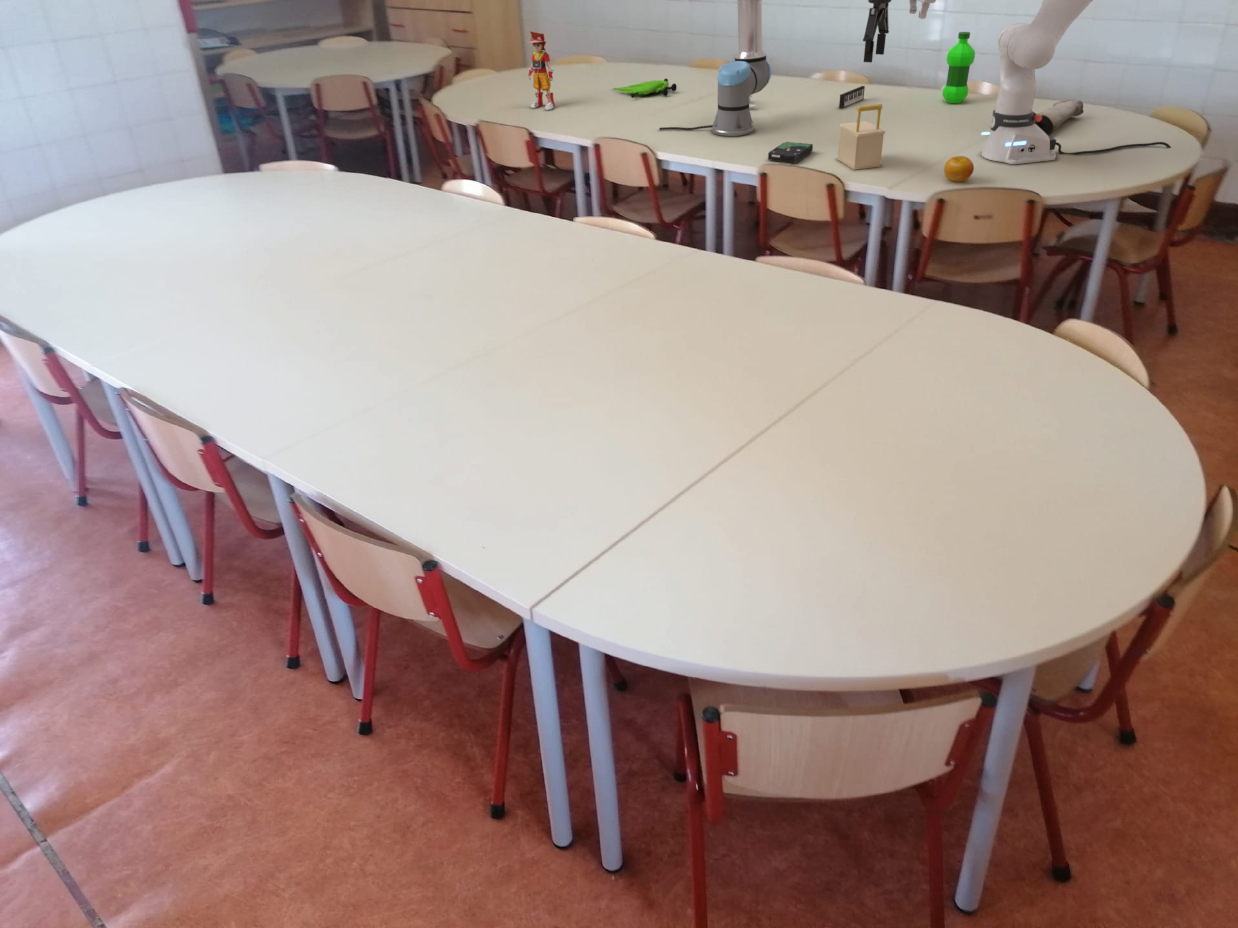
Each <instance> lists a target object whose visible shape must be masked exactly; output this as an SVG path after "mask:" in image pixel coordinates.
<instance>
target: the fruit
mask: <svg viewBox="0 0 1238 928" xmlns="http://www.w3.org/2000/svg"><path fill="white" fill-rule="evenodd" d="M974 169H975V166H974V162H973V161H972V160H971V159H970V158H969V157H968V156H964V155H957V156H953V157H951V158H949V159H948V160H946V162H945V164H944V166H943V175H944V177H945V178H946V179H947V180H948V181H951V182H957V183H959V182H960V183H961V182H965V181H967V180H968V179H969V178H971V176H972V175H973V174H974Z"/></svg>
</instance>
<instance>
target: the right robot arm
mask: <svg viewBox="0 0 1238 928" xmlns="http://www.w3.org/2000/svg"><path fill="white" fill-rule="evenodd" d="M917 1H918V2H920V6H921V7H920V11H918V7H917ZM936 1H937V0H908V3H909V10H908V12H909V14H911V15H914V14H917V11H918V18H919V19H921V20H922V19H923V20H925V19H926V18H927V13H928V11H929V8H930V4H935V3H936ZM1093 1H1094V0H1042V2H1041V5H1040V8H1039V9H1038V12H1037V13H1036V14H1035V16H1034V18H1033V19H1032V21H1031V22H1030V23H1026V22H1016V23H1011V24H1009V25H1008V26H1006V27H1005V28H1004V29H1003V30H1002V31H1001V33H1000V34H999V37H998V40H997V46H998V51H999V59H998V62H999V63H998V64H999V66H998V67H999V68H998V70H999V72H998V75H999V76H998V89H997V96H996V101H995V107H994V110H993V111H992V115H991V119H990V123H989V124H990V125H989V127H990V131H983V132H981V136H987V135H988V137H987V140H986V143H985V145H984V148H983V150H982V152H981V157H983V158H984V159H987V160H990V161H994V162H1000V163H1005V164H1010V165H1020V164H1021V165H1022V164H1029V163H1039V162H1048V161H1055V160H1056V158H1057V154H1056V152H1055V151H1054V150H1055V148H1056V146H1057V147H1058V149H1057V152H1058V153H1059V154H1061V155H1074V156H1075V155H1076V156H1077V155H1082V154H1084V155H1086V154H1087V155H1088V154H1098V153H1104V152H1110V151H1114V150H1119V149H1125V148H1133V147H1134V148H1135V147H1148V146H1149V147H1150V146H1156V145H1162V146H1165V147H1166V148H1167V149H1171V148H1172V146H1171V145H1170V144H1169V143H1167V142H1164V141H1154V142H1146V143H1131V144H1122V145H1118V146H1112V147H1108V148H1103V149H1097V150H1096V149H1094V150H1082V151H1075V152H1064V151H1063V150H1062V145H1061V143H1060V142H1057V138H1055V137H1053V136H1051V135H1047V134H1046V133H1045V132H1044V131H1043V130H1042V129H1041V128H1040V127H1038V126H1037V125H1036V124H1035V121H1037V122H1039V121H1040V120H1042V118H1041V117H1042V116H1041V115H1040V114H1039V113H1037V112H1035V111H1033V106H1034V102H1035V98H1036V92H1037V86H1038V85H1037V80H1036V70H1039V69H1042V68H1043V67H1045V66H1047V65H1048V64H1049V63H1050V61H1051V60H1052V59H1053V57H1054V55H1055V52H1056V48H1057V46H1058V44H1059V43H1060V41H1061V39H1062V38H1063V36H1064V35H1065V33H1066V32H1067V30H1068V29H1069V28H1070V26H1071V25H1072V23H1074V21H1075V20H1076V19H1077V18H1078V17H1079V16H1080V15H1081V14H1082V13H1083V12H1084V10H1086V9H1087V7H1088V6H1090V4H1091V3H1092V2H1093Z"/></svg>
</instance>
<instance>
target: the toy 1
mask: <svg viewBox="0 0 1238 928" xmlns="http://www.w3.org/2000/svg"><path fill="white" fill-rule="evenodd" d="M529 33H530V35H531V36H528V37H527V38H528V39H529V40H528V41H527V43H529V44H530V43H531V44H532V48H533V50H534V51H533V52H532V55H531V58H530V59H531V63H530V66H528V74H527V75H528V76H527V77H528V79H529V80H531V75H532V74H533V84H532V85H533V86H532V87H533V88H534V89H535V90H536V92H534V95H535V97H536V100H535V101H533V102H531V105H530V108H531V109H535V108H538V107H542V106H544V101H543V100H544V99H543V95H544V92H546V94H545V97H546V99H547V103H546V104H545V106H544V110H546V111H549V110H553V109H554V107H555V106H556V105H555V99H554V92H551V91H550V90H551V86H552V84H551V82H552V81H553V80H554V77H553V73H554V71H555V70H554V69H552V68H551V63H550V61H551V59H550V58H551V57H550V54H549V53H548V52H547V50H546V48H545V46H546V44H547V41H545V35H544V33H543V32H542V33H539V32H535V31H529Z"/></svg>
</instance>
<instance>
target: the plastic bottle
mask: <svg viewBox="0 0 1238 928" xmlns="http://www.w3.org/2000/svg"><path fill="white" fill-rule="evenodd" d="M970 36H971V32H970V31H959V32H958V36H957V39H958V42H957V43H956V44H954V45H953V46H952V47H951V48H950V49H949V50H948V52H947V54H946V63H947V64H948V69H947V70H948V71H947V76H946V77H947V78H946V84H945V85H944V87H943V90H942V97H943V99H944V100H945V101H946V102H947V103H948V104H960V103H961V102H963V101H964V100H966V98H967V96H968V95H969V85H968V79H969V73H970V67H971V65H972V64H973V63H974V61H975V57H976V51H975V49H974V47H972V45H971V44H970V43H969V42H968V41H969V39H970V38H971V37H970Z"/></svg>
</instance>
